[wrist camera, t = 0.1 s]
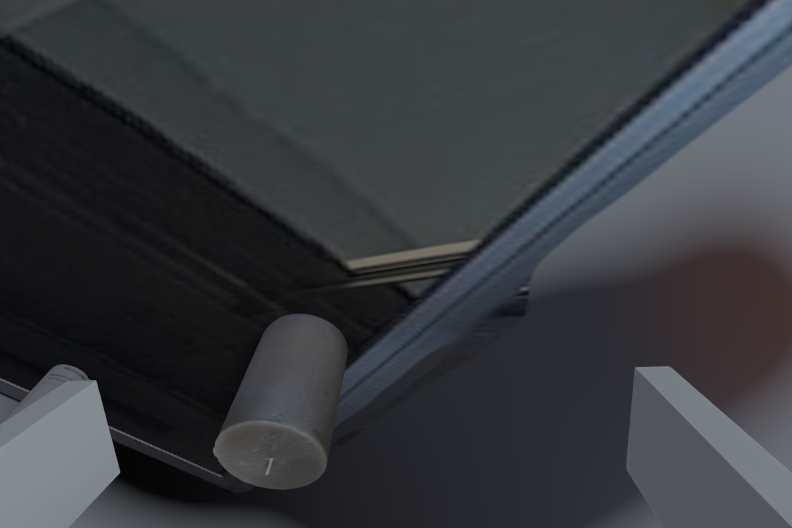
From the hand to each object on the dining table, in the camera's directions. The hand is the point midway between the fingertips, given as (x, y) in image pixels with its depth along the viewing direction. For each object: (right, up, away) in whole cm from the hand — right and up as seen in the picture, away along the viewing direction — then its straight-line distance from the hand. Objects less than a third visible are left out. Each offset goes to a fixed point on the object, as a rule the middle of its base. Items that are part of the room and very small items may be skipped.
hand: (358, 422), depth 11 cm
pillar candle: (-9, -5, +38) cm, 39 cm away
